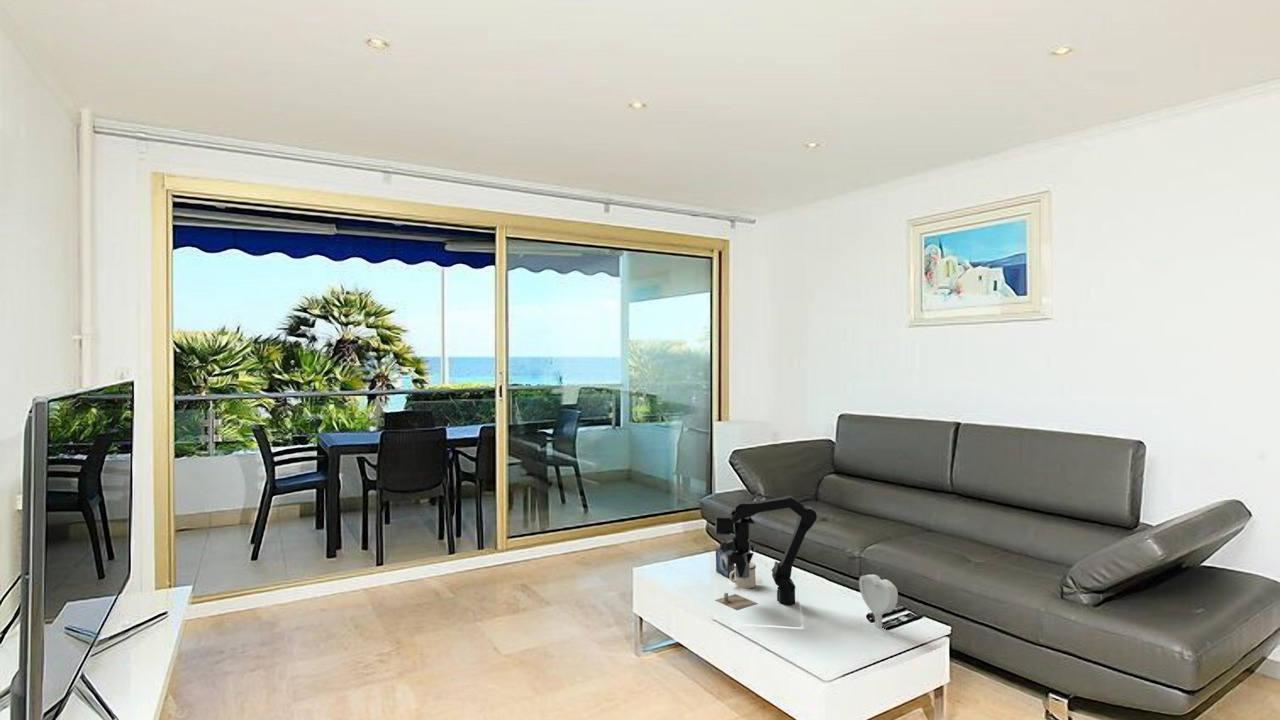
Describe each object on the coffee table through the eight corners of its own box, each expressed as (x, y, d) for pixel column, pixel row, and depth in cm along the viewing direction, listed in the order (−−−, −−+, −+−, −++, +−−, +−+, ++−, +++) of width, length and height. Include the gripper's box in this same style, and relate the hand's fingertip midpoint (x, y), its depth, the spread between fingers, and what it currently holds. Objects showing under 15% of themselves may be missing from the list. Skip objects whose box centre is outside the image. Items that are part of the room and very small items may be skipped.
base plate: (758, 605, 262) (758, 595, 262) (737, 612, 256) (736, 602, 256) (735, 596, 273) (735, 586, 273) (714, 602, 267) (714, 592, 267)
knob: (737, 573, 267) (737, 559, 267) (750, 574, 265) (750, 560, 265) (734, 577, 262) (734, 563, 262) (748, 578, 260) (748, 564, 260)
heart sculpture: (858, 622, 244) (857, 572, 244) (869, 620, 246) (868, 570, 246) (888, 639, 230) (887, 586, 229) (900, 636, 231) (899, 584, 231)
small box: (715, 571, 304) (714, 548, 304) (727, 569, 307) (727, 546, 307) (727, 578, 294) (727, 554, 294) (740, 576, 297) (740, 552, 297)
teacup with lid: (747, 581, 291) (747, 553, 290) (760, 587, 282) (760, 559, 282) (724, 585, 285) (723, 558, 285) (736, 592, 277) (735, 564, 277)
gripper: (728, 526, 275) (728, 565, 275) (715, 538, 258) (715, 579, 258) (755, 529, 271) (756, 568, 271) (744, 541, 254) (744, 583, 254)
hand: (742, 574), depth 264 cm, fingers closed on knob, 5 cm apart
